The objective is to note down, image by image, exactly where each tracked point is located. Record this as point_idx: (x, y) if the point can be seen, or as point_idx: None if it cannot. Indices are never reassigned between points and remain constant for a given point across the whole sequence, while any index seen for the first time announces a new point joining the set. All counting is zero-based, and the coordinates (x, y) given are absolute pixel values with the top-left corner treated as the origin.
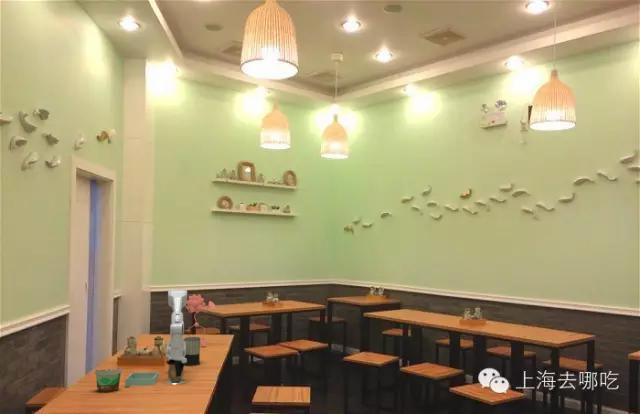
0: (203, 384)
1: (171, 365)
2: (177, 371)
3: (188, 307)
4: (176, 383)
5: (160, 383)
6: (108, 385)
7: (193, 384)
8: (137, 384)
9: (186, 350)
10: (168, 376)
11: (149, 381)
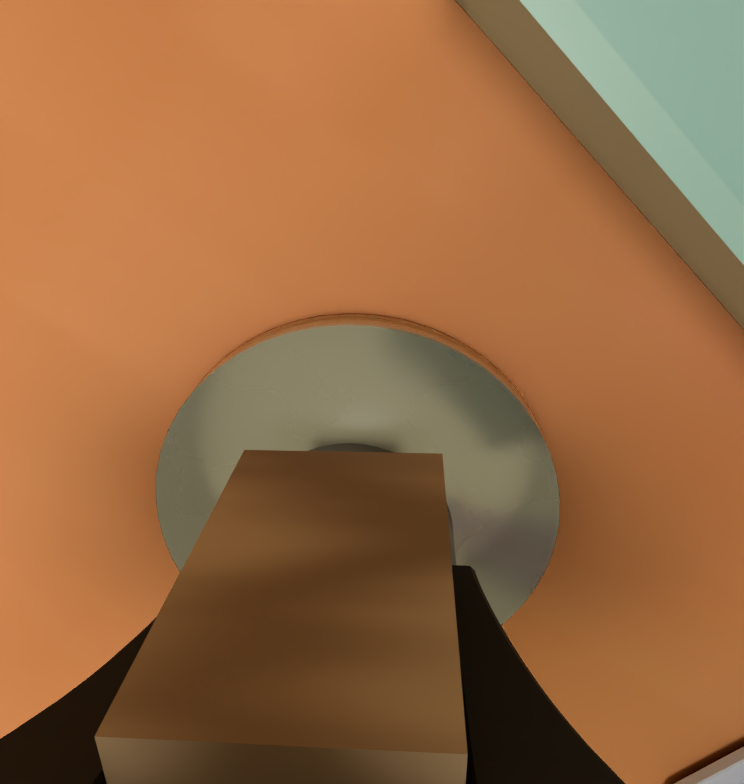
0: (28, 711)
1: (236, 731)
2: (129, 648)
3: None
4: (209, 449)
5: (602, 322)
6: None
7: (115, 636)
8: None
9: None
10: (429, 470)
11: None
